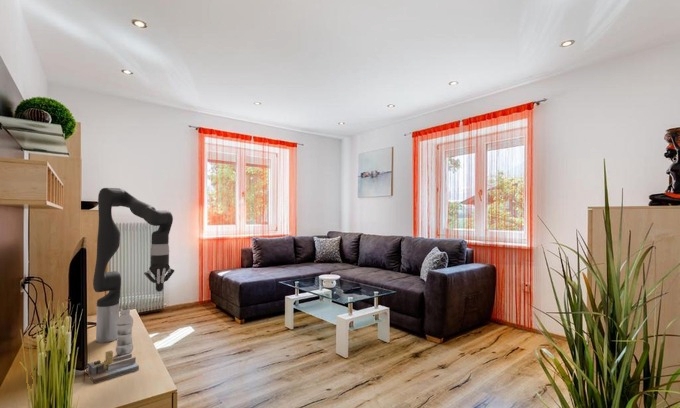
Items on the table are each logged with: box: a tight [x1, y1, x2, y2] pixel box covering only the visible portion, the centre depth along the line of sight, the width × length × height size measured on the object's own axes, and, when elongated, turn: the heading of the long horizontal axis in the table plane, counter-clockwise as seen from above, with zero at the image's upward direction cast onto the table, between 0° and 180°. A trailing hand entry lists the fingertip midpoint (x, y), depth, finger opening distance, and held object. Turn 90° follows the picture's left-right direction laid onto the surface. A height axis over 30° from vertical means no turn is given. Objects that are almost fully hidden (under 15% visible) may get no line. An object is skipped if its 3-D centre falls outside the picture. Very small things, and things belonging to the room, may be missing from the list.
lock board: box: [85, 352, 140, 384], centre depth 135 cm, size 14×15×4 cm
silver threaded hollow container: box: [115, 307, 134, 356], centre depth 150 cm, size 6×7×20 cm
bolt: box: [95, 350, 114, 372], centre depth 133 cm, size 3×6×6 cm, turn 138°
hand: (159, 291), depth 155 cm, fingers closed
